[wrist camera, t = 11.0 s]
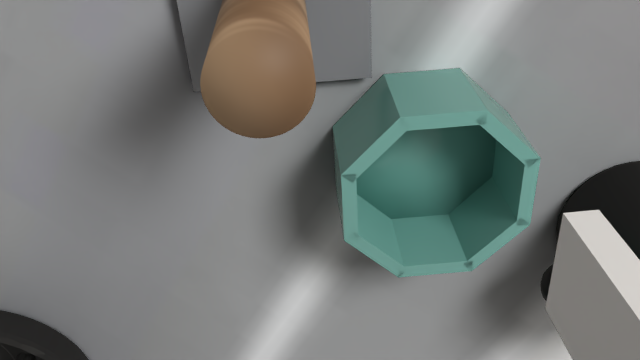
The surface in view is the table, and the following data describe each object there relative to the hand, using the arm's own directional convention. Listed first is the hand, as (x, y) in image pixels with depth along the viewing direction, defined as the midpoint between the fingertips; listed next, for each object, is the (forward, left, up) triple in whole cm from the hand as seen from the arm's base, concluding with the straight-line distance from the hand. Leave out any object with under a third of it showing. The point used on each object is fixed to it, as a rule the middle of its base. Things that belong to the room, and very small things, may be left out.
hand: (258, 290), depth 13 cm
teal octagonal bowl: (+8, -10, -23) cm, 26 cm away
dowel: (0, 0, -22) cm, 22 cm away
